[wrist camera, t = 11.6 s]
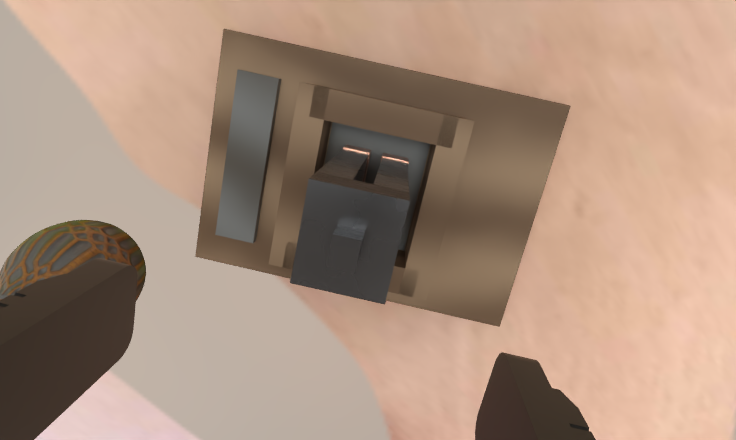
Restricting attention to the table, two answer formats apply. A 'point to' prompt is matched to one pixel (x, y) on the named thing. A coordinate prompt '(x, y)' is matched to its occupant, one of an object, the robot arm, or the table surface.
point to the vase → (68, 253)
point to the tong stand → (377, 167)
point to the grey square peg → (352, 225)
